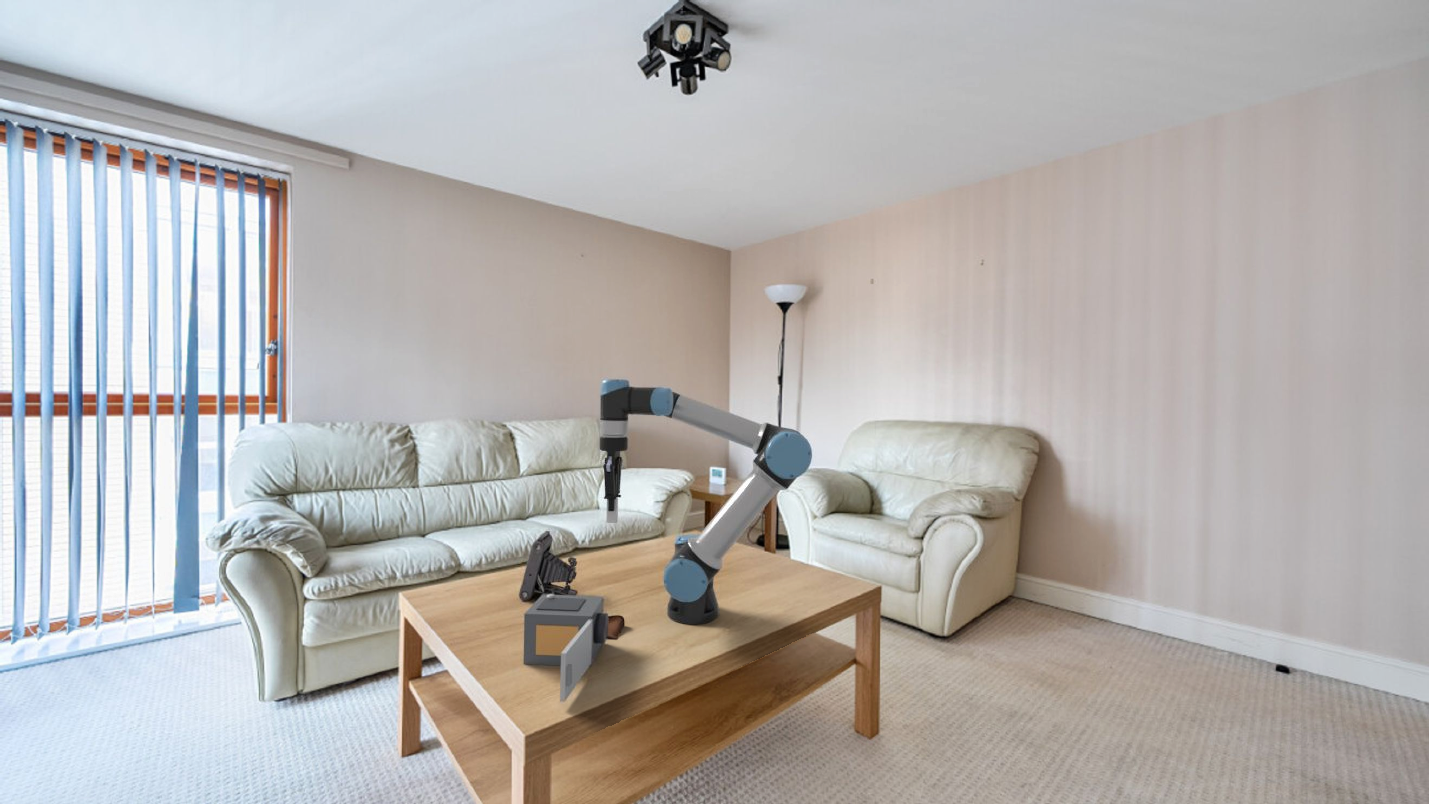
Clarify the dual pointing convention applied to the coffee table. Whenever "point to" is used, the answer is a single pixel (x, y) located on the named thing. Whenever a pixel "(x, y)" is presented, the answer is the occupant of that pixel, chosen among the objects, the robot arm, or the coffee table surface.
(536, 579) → the camera
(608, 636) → the sunglasses case
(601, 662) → the coffee table surface
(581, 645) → the door
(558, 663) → the panel
